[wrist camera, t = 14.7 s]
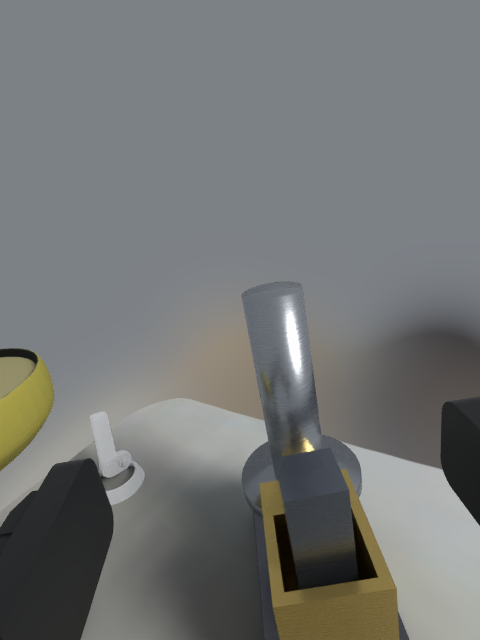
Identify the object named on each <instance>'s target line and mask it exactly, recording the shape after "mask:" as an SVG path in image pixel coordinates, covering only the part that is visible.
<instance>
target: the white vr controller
mask: <svg viewBox="0 0 480 640" xmlns="http://www.w3.org/2000/svg"><path fill="white" fill-rule="evenodd" d="M90 423H91V427H92V432H93V437H94V441H95V446H96V450H97V454H98V459H99V470H98V472H99V475H100V477H102V476H104V477H107V478H111V477H113V476H115V475H117V474H118V473H120V472H122V471H123V470H125V469H127V468H128V467H129V466H132V467H134V468H135V469H134V473H133V475H132V477H131V478H130V479H129V480H128V481H127V482H126V483H125V484H123V485H122V486H120V487H118V488H116V489H113V490H109V491H106V494H107V497H108V499H109V502H110V505H114V504H117V503H119V502H122V501H124V500H126V499H127V498H129V497H130V496H132V495H133V494H134V493H135V492H136V491H137V490H138V489H139V488H140V487H141V485H142V483H143V481H144V477H145V474H144V470H143V469H142V468H141V466H139V465H138V464H137V463H136V462H134V461H132V460H131V456H130V453H129V452H127V451H125V450H120V451H117V452H116V451H115V446H114V442H113V438H112V434H111V429H110V425H109V421H108V417H107V414H106V413H105V412H98V413H95V414H92V415H91V416H90Z"/></svg>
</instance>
